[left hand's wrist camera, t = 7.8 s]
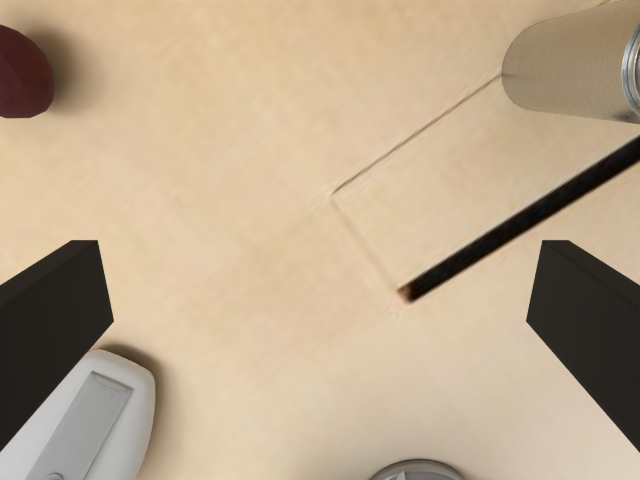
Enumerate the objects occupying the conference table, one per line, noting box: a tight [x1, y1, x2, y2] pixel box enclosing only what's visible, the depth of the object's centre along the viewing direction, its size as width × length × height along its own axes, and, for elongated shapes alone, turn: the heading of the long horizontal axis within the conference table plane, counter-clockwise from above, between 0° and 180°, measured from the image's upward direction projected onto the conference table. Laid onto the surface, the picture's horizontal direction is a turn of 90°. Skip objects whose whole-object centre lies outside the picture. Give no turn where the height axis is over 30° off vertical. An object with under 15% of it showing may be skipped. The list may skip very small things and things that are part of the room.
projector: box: [0, 349, 155, 480], centre depth 47 cm, size 22×23×15 cm
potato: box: [0, 25, 54, 118], centre depth 35 cm, size 7×8×7 cm
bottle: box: [502, 0, 640, 124], centre depth 29 cm, size 8×8×22 cm
